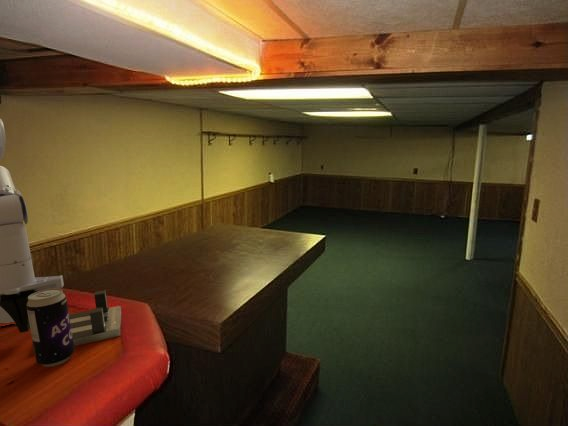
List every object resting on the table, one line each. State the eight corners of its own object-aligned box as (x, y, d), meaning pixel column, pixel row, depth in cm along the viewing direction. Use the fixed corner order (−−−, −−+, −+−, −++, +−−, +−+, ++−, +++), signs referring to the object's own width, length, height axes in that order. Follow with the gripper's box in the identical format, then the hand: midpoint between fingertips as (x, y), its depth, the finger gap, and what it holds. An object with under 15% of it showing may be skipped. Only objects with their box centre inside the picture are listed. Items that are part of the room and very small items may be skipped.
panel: (48, 325, 78) (43, 300, 77) (121, 311, 83) (117, 287, 82) (34, 355, 66) (29, 325, 65) (120, 336, 72) (116, 309, 71)
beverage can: (57, 370, 61) (45, 301, 59) (28, 368, 62) (16, 300, 60) (82, 351, 67) (72, 287, 65) (55, 350, 68) (44, 287, 66)
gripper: (-47, 273, 62) (-31, 349, 65) (54, 259, 68) (65, 330, 70) (-30, 262, 69) (-16, 331, 71) (60, 250, 74) (71, 315, 76)
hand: (25, 329), depth 71 cm, fingers closed
